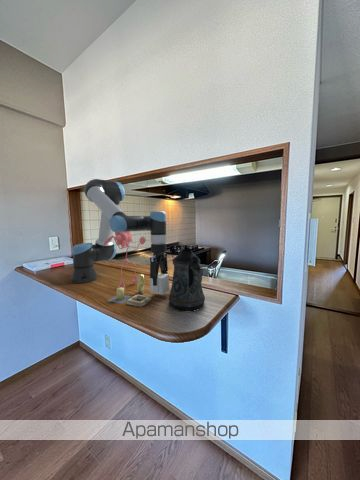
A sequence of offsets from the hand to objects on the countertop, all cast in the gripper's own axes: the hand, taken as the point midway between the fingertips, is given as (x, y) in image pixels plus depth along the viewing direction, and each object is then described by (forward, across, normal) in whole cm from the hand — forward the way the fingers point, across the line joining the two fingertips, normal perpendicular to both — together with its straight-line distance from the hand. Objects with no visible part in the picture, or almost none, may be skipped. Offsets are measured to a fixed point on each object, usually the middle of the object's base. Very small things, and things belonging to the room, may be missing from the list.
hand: (159, 288), depth 100 cm
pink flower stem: (+4, -8, -27) cm, 29 cm away
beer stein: (+4, +4, +17) cm, 18 cm away
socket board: (+4, +10, -6) cm, 12 cm away
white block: (+1, 0, 0) cm, 1 cm away
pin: (+4, 0, -11) cm, 12 cm away
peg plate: (+4, +10, -16) cm, 19 cm away
